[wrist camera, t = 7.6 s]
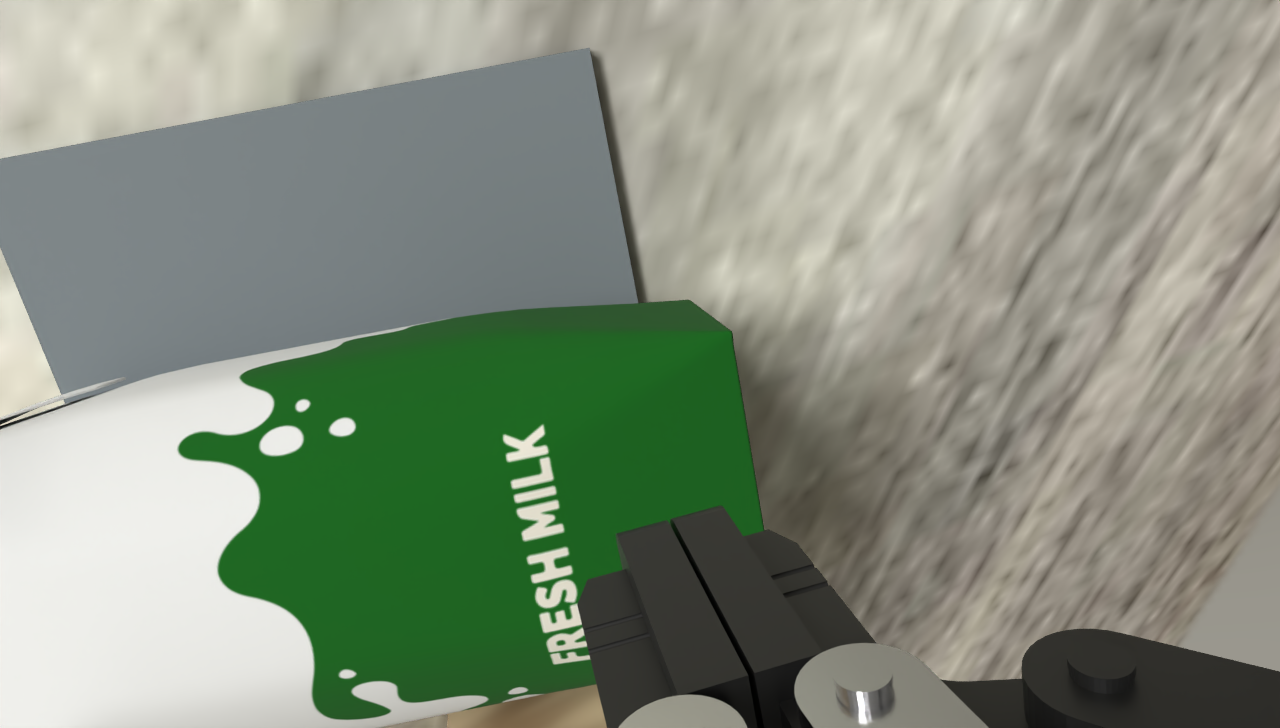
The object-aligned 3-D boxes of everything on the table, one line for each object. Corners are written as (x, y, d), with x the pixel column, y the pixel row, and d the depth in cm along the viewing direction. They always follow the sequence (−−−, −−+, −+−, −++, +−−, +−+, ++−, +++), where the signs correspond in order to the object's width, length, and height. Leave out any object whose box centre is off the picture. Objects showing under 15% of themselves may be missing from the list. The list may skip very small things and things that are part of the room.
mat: (587, 48, 24) (589, 47, 24) (678, 523, 29) (681, 528, 28) (-26, 164, 22) (-34, 165, 22) (177, 656, 27) (174, 664, 26)
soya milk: (803, 709, 18) (-188, 911, 17) (730, 546, 27) (77, 675, 26) (734, 286, 16) (-355, 490, 16) (681, 263, 25) (-13, 393, 25)
